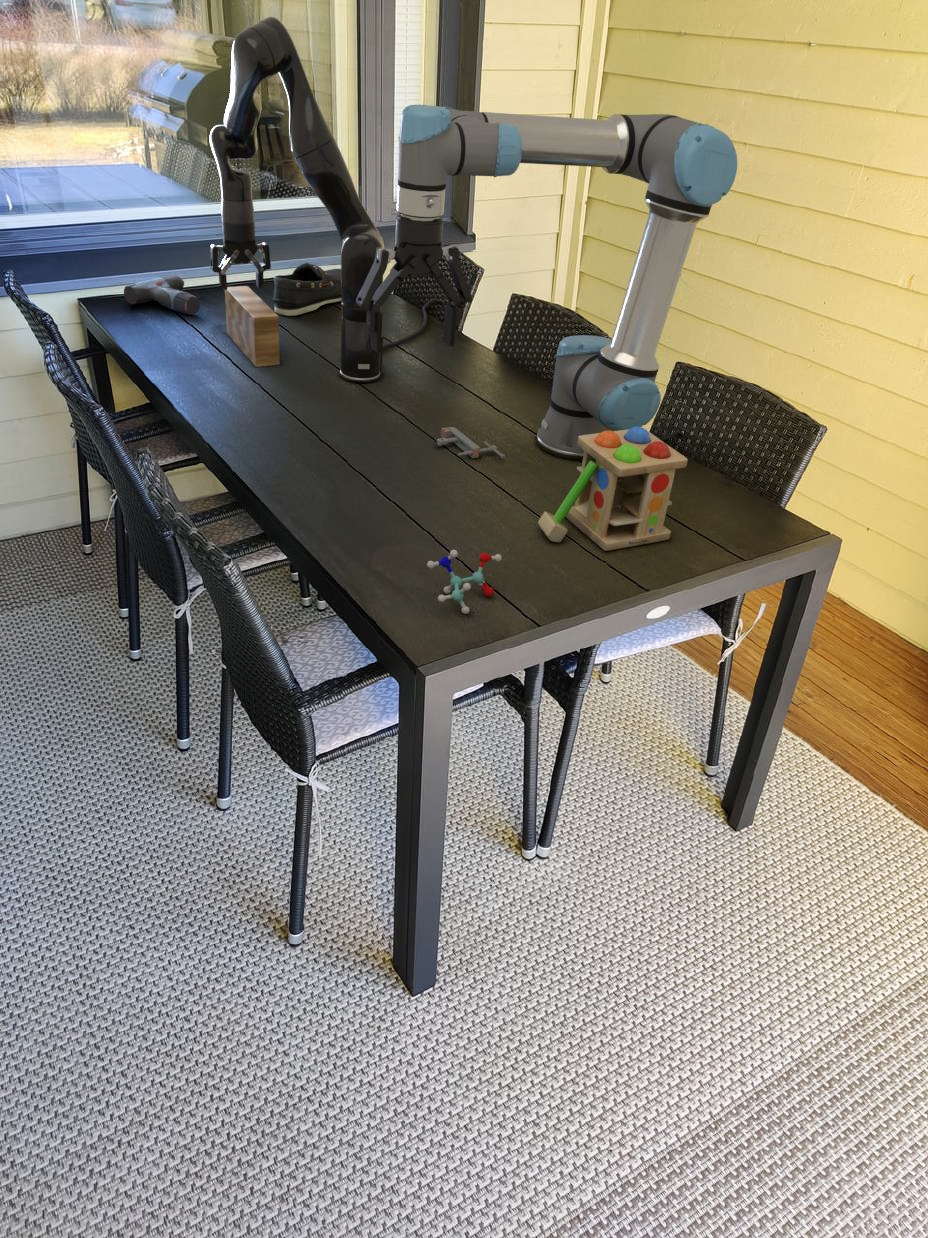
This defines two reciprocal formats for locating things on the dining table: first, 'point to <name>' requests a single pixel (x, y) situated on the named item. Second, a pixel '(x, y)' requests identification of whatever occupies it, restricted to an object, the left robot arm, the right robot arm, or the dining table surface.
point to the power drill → (163, 294)
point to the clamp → (464, 443)
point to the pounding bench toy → (619, 490)
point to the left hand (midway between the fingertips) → (242, 287)
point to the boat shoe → (306, 289)
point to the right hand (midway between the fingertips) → (412, 346)
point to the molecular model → (457, 581)
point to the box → (252, 326)
